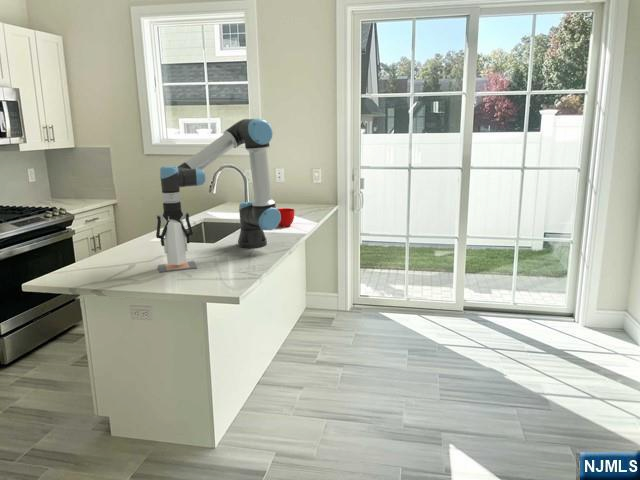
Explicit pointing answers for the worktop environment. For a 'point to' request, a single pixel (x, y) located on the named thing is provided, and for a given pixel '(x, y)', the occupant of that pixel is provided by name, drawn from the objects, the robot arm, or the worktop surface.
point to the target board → (177, 267)
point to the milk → (175, 243)
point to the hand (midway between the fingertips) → (176, 251)
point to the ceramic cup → (286, 217)
